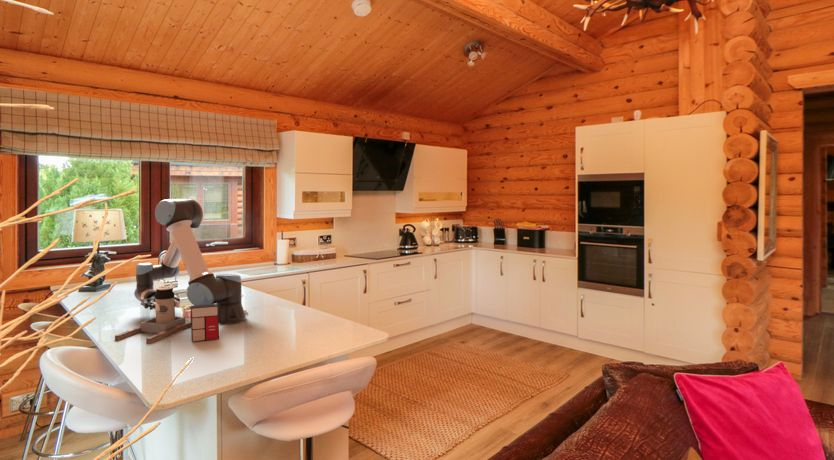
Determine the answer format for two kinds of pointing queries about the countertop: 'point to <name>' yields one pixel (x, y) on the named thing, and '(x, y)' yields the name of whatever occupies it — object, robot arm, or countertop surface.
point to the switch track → (154, 337)
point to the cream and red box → (204, 322)
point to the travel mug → (165, 304)
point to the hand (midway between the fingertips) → (168, 306)
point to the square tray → (160, 325)
